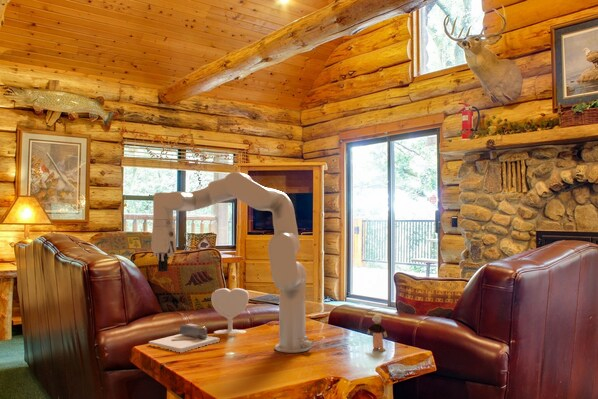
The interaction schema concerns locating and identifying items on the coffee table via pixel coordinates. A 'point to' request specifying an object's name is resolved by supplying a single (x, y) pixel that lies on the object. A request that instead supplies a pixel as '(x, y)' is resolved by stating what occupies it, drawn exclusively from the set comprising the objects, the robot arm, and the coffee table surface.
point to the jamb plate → (183, 342)
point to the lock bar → (193, 331)
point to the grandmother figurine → (377, 333)
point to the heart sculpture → (229, 305)
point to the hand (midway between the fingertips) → (162, 271)
